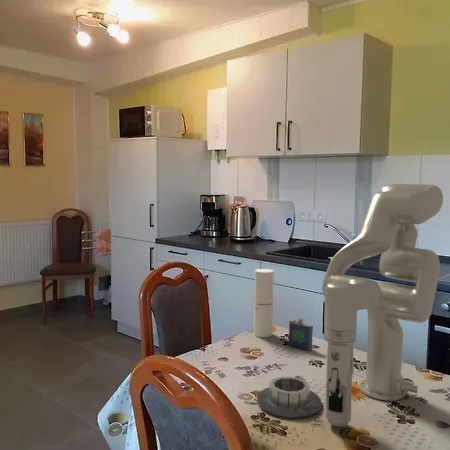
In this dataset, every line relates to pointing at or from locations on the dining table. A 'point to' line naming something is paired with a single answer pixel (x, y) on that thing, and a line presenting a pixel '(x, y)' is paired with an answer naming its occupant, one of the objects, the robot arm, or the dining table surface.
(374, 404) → the dining table surface
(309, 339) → the flask
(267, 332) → the cylindrical container
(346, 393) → the energy drink can
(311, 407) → the rosette socket
